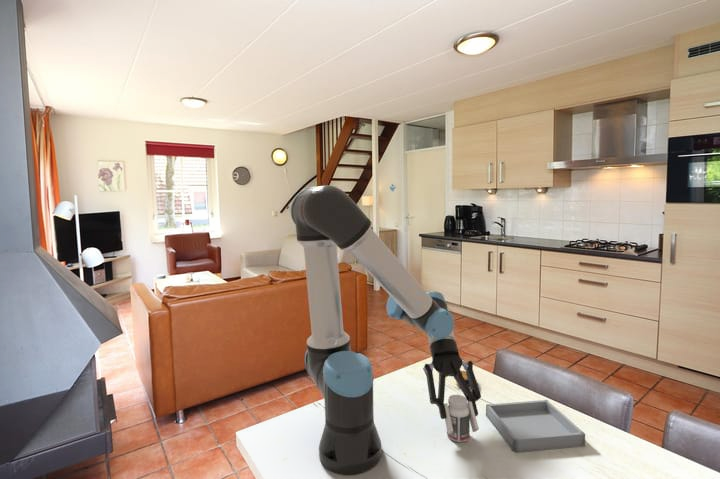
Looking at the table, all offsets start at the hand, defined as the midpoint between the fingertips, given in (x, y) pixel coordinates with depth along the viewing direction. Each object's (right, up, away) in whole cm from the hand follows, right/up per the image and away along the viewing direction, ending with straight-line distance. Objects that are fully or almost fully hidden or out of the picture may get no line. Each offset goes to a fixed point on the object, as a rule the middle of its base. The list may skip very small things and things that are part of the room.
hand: (463, 431), depth 94 cm
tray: (+20, -3, +6) cm, 21 cm away
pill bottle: (0, -3, +4) cm, 5 cm away
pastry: (+9, -1, +32) cm, 33 cm away
